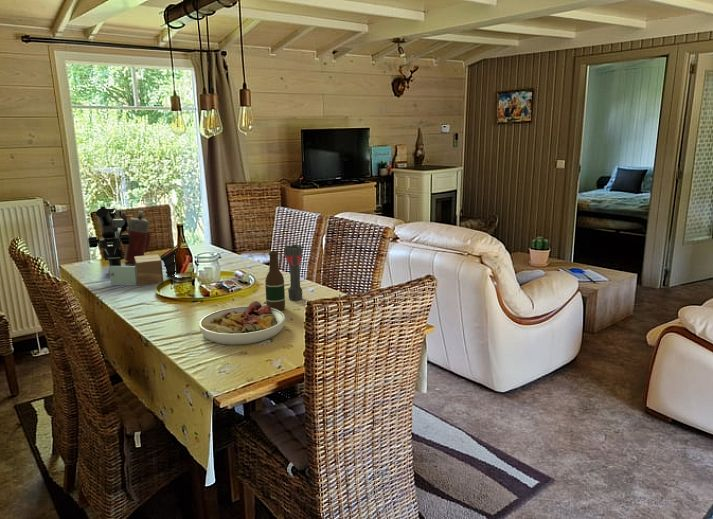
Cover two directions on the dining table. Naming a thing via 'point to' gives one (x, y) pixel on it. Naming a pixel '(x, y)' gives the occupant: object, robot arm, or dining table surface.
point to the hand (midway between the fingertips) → (111, 254)
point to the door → (123, 275)
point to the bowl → (242, 324)
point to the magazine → (169, 261)
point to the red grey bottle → (137, 237)
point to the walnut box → (149, 269)
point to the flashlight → (294, 270)
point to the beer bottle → (275, 284)
